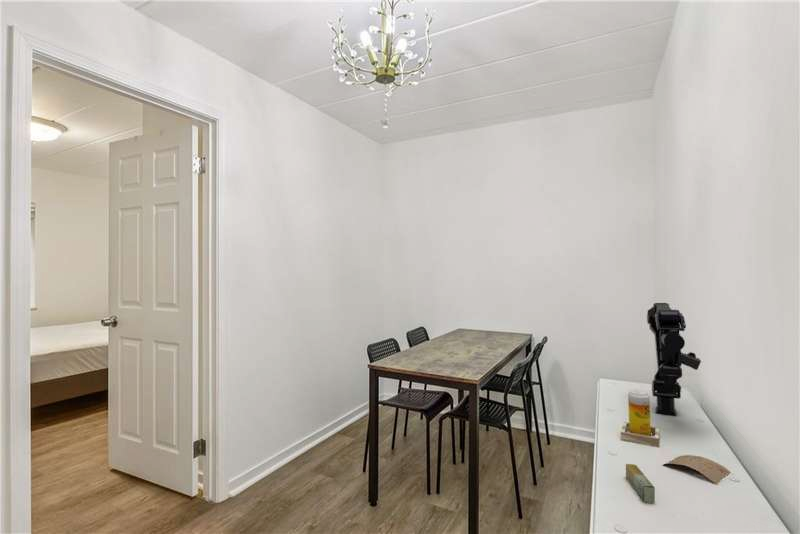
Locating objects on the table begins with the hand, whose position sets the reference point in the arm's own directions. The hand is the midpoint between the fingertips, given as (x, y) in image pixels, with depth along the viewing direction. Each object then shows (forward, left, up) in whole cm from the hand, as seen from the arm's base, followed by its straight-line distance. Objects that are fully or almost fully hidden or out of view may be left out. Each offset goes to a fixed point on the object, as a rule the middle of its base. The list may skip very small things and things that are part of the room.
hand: (671, 390), depth 138 cm
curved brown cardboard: (+31, +5, -14) cm, 34 cm away
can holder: (+15, -9, -13) cm, 22 cm away
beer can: (+15, -9, -13) cm, 22 cm away
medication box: (+50, -7, -13) cm, 53 cm away
